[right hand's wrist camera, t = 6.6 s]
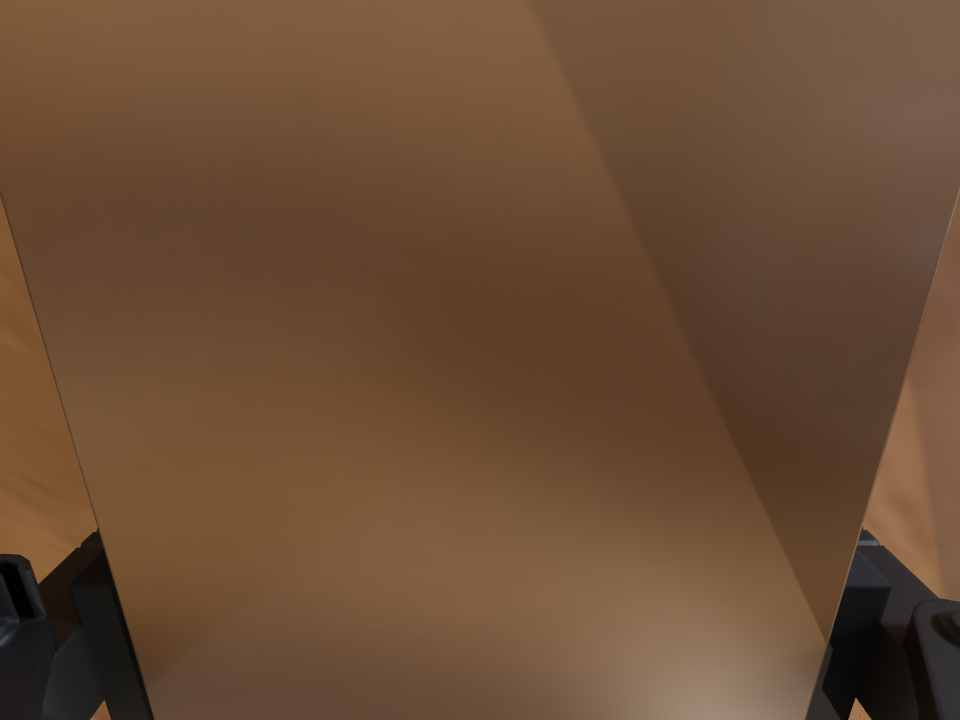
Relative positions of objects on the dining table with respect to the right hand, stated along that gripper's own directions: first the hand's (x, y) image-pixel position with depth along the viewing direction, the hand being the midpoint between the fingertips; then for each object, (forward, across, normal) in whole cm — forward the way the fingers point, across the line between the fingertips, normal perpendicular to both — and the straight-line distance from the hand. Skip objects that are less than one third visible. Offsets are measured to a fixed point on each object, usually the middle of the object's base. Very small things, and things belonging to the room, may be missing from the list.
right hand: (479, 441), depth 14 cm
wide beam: (+1, 0, -26) cm, 27 cm away
